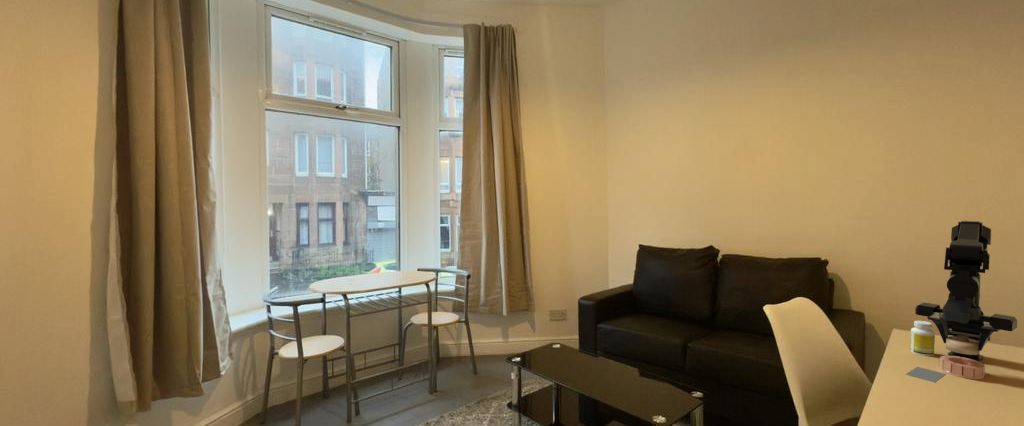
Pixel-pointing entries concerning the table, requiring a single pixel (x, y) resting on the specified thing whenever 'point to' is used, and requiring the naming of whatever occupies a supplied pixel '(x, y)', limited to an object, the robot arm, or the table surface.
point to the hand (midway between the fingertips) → (962, 346)
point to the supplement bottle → (922, 338)
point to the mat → (925, 374)
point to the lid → (962, 345)
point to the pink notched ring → (962, 367)
